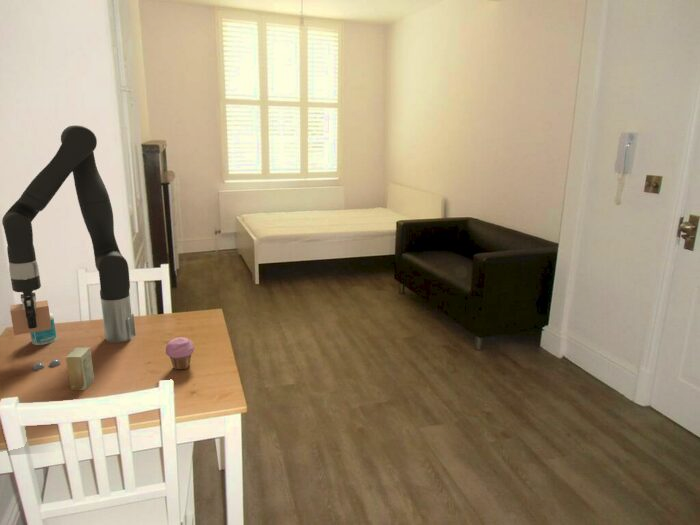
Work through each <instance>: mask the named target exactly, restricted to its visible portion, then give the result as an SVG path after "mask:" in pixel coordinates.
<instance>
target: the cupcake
mask: <svg viewBox="0 0 700 525" xmlns="http://www.w3.org/2000/svg"><path fill="white" fill-rule="evenodd" d="M194 350H195V344H194V342H193V341H192V340H191V339H189V338H187V337H184V336H183V337H182V336H181V337H179V336H178V337H176V338H173V339H172V338H171V340H169V341H168V342H167V344H166V346H165V354H166V355H167V357H169V359H170V361H171V365H172V367H173V369H175V370H186V369H188V368H189V366H190V363H191V359H192V358H191V357H192V354H193V353H194V352H195V351H194Z"/></svg>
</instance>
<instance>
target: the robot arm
mask: <svg viewBox="0 0 700 525" xmlns="http://www.w3.org/2000/svg"><path fill="white" fill-rule="evenodd" d="M60 143H61V144H60V146H59V148H58V150H57V152H56V153H55V154H54V156H53V158H52V159H51V160H50V161H49V163H48V164H47V165H46V166H45V167H44V168H43V169H41V171H40V172H39V173H38V174H36V176H35V177H34V178H33V179H32V180H31V182H30V183H29V184H28V186H27V187H26V188H25V190H24V191H23V192H22V194H21V195H20V197H19V198H18V199H17V200H16V201H15V202H14V203H13V205H11V207H10V208H9V209H8V210H7V211H6V213H5V214H4V215H3V217H2V220H1V222H2V226H3V230H4V234H5V238H6V243H7V248H6V249H7V250H6V252H7V258H8V265H9V266H8V270H9V271H8V272H9V277H10V281H11V282H10V284H11V288H12V291H13V292H15V293H21V294H20V302H21V304H23V310H24V311H25V312H26V318H27V320H28V327H29V329H32V328H36V327H37V323H36V314H35V309H36V302H37V301H36V300H37V295H36V292H34V291H37V290H39V289H40V288H41V287H42V283H41V277H40V271H39V265H38V261H37V257H36V250H35V246H34V234H33V225H32V222H33V220H34V219H35V218H36V217H37V215H38V214H39V213H40V212H43V210H44V209H45V208H46V207H47V205H48V204H49V203H50V202H51V200H52V199H53V198H54V197H55V195H56V194H57V192H58V191H59V190H60V188H61V187H62V185H63V184H64V182H65V181H66V180H67V178H69V177H70V175H71V174H72V176H73V181H74V182H73V183H74V187H75V192H76V196H77V201H78V205H79V209H80V212H81V216H82V218H83V221H84V225H85V227H86V230H87V232H88V234H89V237H90V239H91V244H92V250H93V256H94V264H95V265H94V266H95V268H96V270H97V271H98V276H99V285H100V290H99V296H100V304H101V314H102V321H103V329H104V338H105V341H106V342H107V343H111V344H117V343H118V344H119V343H124V342H127V341H132V340H133V338H134V337H136V336H137V335H136V326H135V316H134V312H132V307H131V306H132V304H131V294H130V289H131V283H130V282H131V281H130V270H129V269H130V268H129V264H128V261H127V259H126V258H125V257H124V256H123V255H122V253H121V251H120V248H119V245H118V242H117V239H116V236H115V228H114V226H115V225H114V224H115V223H114V212H113V207H112V203H111V199H110V196H109V193H108V190H107V187H106V185H105V183H104V181H103V179H102V177H101V175H100V172H99V170H98V167H97V164H96V158H95V153H94V151H95V150H96V148H97V145H98V144H97V143H98V139H97V137H96V135H95V132H93V131H92V130H91V128H88V127H87V126H84V125H83V126H82V125H69V126H68V127H66V128H64V129H63V131H62V132H61V134H60ZM28 311H33V313H31V314H28Z"/></svg>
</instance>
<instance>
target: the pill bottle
mask: <svg viewBox="0 0 700 525" xmlns="http://www.w3.org/2000/svg"><path fill="white" fill-rule="evenodd" d="M49 313H50V320H51V327H52V329H48V330H42V331H37V332H31V333H29V334H30V337H31V338H30V339H31V343H32V345H36V346H40V345H46V344H51V343H53V342H55V341H57V331H56V323H55V317H54V315H53V313H51V312H50V311H49Z"/></svg>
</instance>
